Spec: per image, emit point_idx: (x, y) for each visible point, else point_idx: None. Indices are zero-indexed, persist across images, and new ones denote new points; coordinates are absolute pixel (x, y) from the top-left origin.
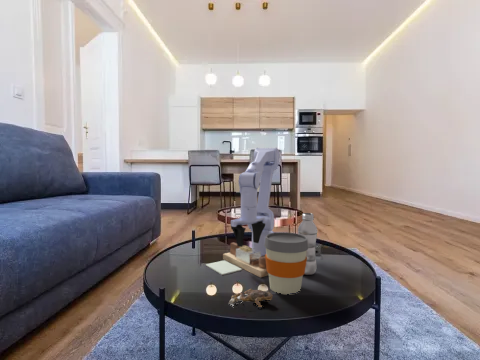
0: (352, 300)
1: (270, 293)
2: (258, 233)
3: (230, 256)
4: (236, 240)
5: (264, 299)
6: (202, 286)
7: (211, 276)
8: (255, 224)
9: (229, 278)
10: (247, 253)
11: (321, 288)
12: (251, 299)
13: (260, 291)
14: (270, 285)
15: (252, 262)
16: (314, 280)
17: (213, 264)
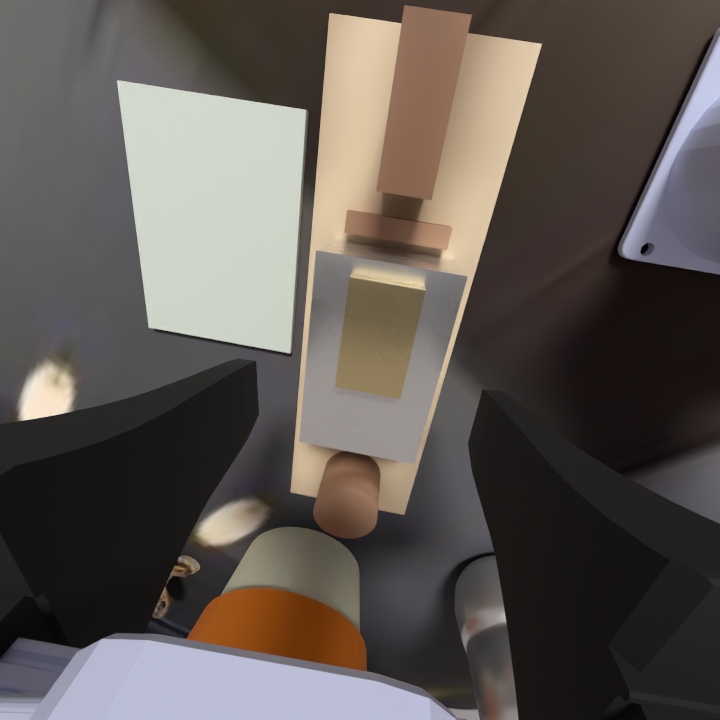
0: None
1: (156, 617)
2: (501, 551)
3: (331, 161)
4: (196, 377)
5: None
6: (15, 357)
7: (93, 294)
8: (587, 674)
9: (168, 379)
10: (301, 419)
11: (394, 633)
12: None
13: None
14: (244, 555)
15: None
16: (444, 606)
17: (173, 137)
